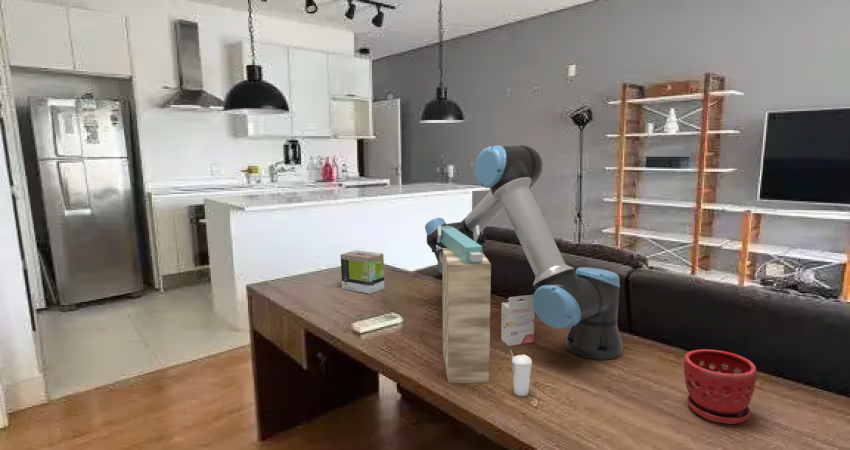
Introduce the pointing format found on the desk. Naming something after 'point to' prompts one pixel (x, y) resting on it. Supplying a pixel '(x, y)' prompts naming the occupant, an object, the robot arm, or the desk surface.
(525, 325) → the ink cartridge box
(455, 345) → the stand
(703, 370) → the plant pot
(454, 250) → the teal rounded-top bar
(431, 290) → the desk surface
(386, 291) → the desk surface
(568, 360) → the desk surface
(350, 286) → the tea box
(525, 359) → the milkshake
